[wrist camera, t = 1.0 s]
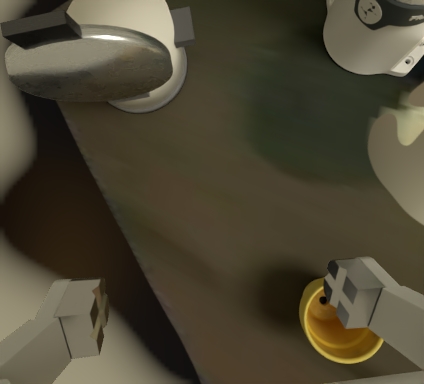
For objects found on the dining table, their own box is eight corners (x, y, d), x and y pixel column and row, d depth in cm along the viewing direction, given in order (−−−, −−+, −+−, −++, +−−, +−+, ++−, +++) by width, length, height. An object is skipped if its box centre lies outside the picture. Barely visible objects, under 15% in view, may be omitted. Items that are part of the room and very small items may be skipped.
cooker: (208, 108, 50) (200, 79, 39) (90, 130, 52) (51, 107, 41) (192, 11, 52) (181, -43, 41) (78, 35, 53) (38, -11, 43)
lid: (181, 76, 40) (183, 87, 40) (66, 98, 41) (68, 109, 41) (138, -10, 21) (142, 11, 21) (-72, 34, 22) (-68, 54, 22)
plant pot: (280, 317, 47) (291, 344, 37) (302, 256, 47) (319, 267, 37) (343, 343, 46) (371, 378, 36) (365, 281, 46) (399, 299, 36)
